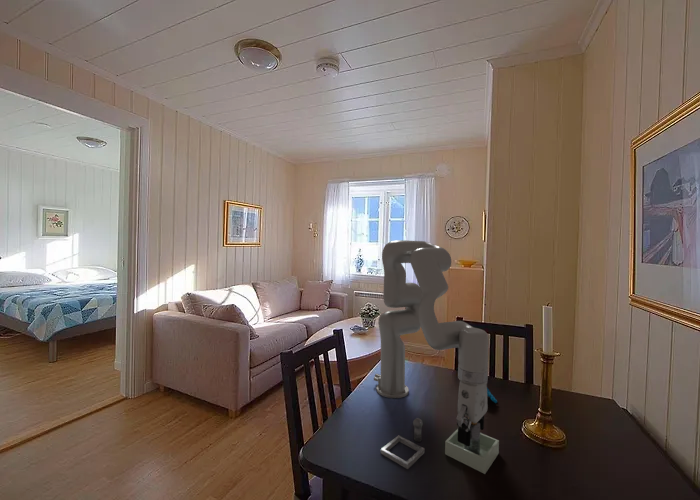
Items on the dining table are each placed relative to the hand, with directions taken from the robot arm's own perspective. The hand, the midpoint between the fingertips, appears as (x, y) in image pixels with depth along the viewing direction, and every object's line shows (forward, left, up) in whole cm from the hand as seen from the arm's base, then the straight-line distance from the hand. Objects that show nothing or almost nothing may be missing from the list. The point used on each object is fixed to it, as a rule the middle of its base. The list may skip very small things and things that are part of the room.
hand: (471, 435), depth 84 cm
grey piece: (-14, -11, -5) cm, 18 cm away
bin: (0, 0, -5) cm, 5 cm away
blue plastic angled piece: (-8, +33, -5) cm, 35 cm away
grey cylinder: (0, 0, -4) cm, 4 cm away
